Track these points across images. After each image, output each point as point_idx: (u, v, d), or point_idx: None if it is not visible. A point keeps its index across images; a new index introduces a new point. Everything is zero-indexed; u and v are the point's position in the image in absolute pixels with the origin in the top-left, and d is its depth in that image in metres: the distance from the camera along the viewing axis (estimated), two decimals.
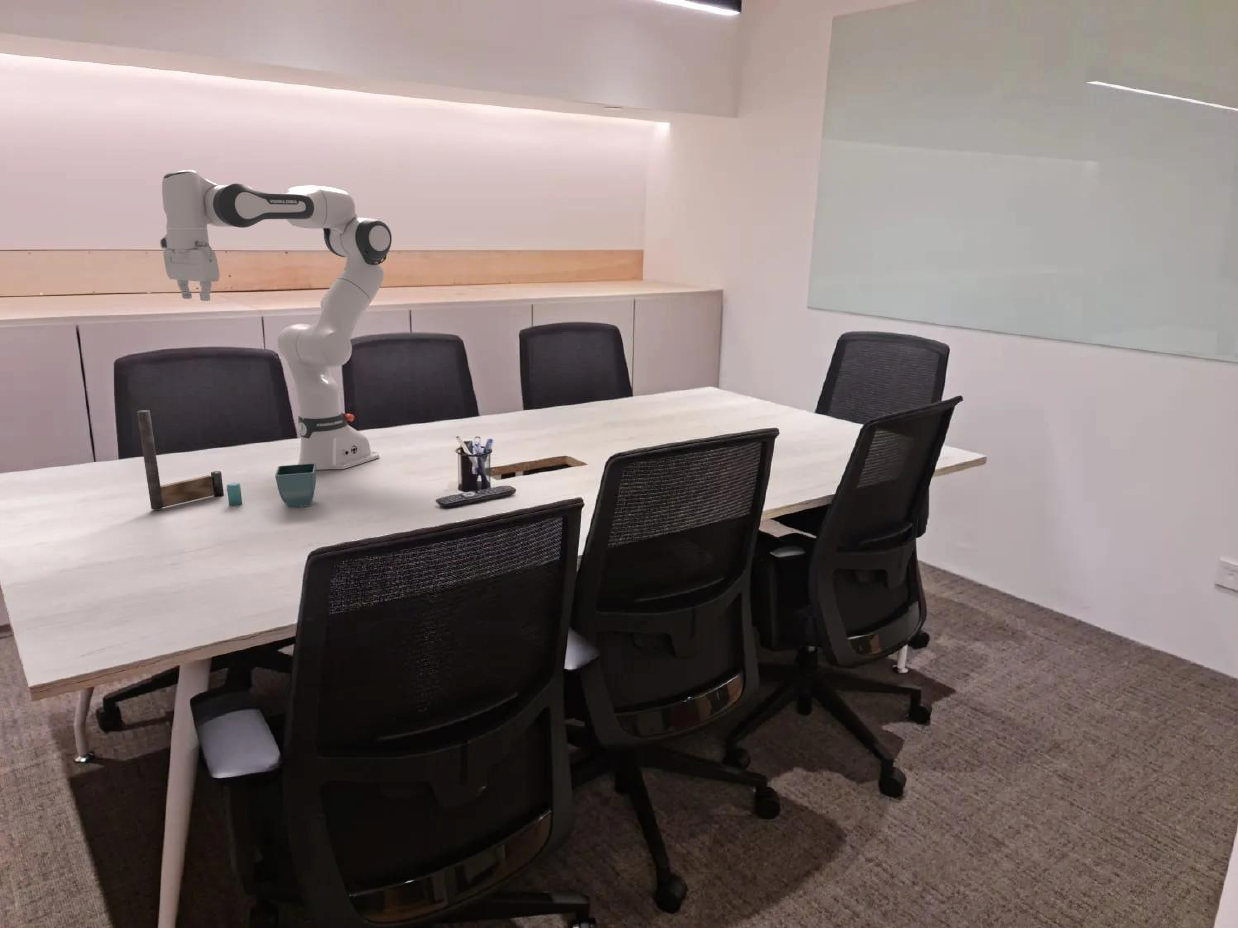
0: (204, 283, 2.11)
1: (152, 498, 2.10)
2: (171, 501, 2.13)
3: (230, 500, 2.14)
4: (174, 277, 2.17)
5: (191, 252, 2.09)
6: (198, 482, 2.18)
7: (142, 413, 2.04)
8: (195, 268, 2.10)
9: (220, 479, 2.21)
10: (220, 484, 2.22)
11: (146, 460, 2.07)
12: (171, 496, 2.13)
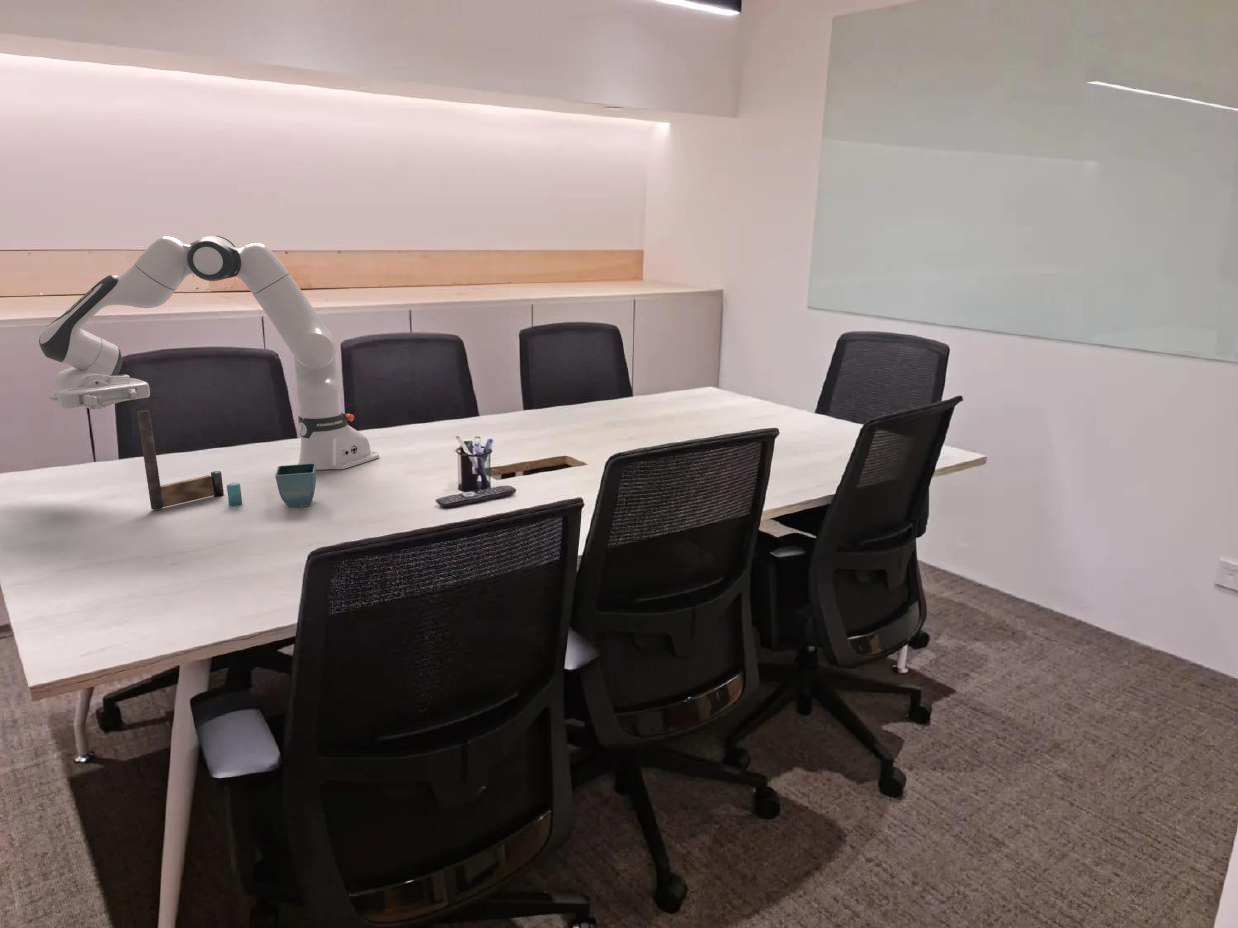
0: (83, 402, 2.12)
1: (152, 498, 2.10)
2: (171, 501, 2.13)
3: (230, 500, 2.14)
4: None
5: None
6: (198, 482, 2.18)
7: (142, 413, 2.04)
8: None
9: (220, 479, 2.21)
10: (220, 484, 2.22)
11: (146, 460, 2.07)
12: (171, 496, 2.13)
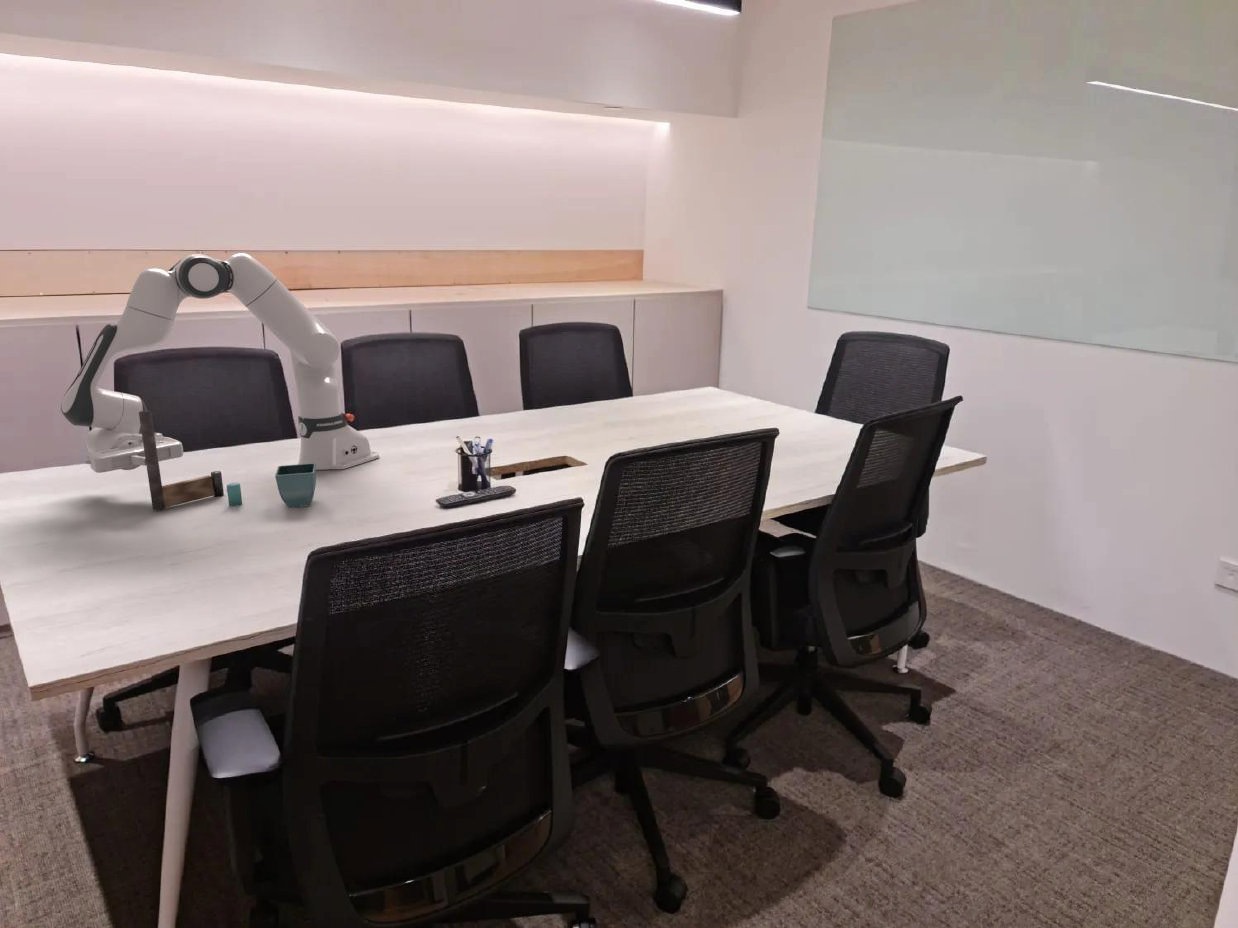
0: (132, 462, 2.10)
1: (154, 499, 2.09)
2: (172, 501, 2.13)
3: (230, 500, 2.14)
4: (167, 459, 2.17)
5: None
6: (199, 482, 2.18)
7: (144, 413, 2.04)
8: None
9: (220, 479, 2.21)
10: (220, 484, 2.22)
11: (148, 461, 2.07)
12: (172, 496, 2.13)
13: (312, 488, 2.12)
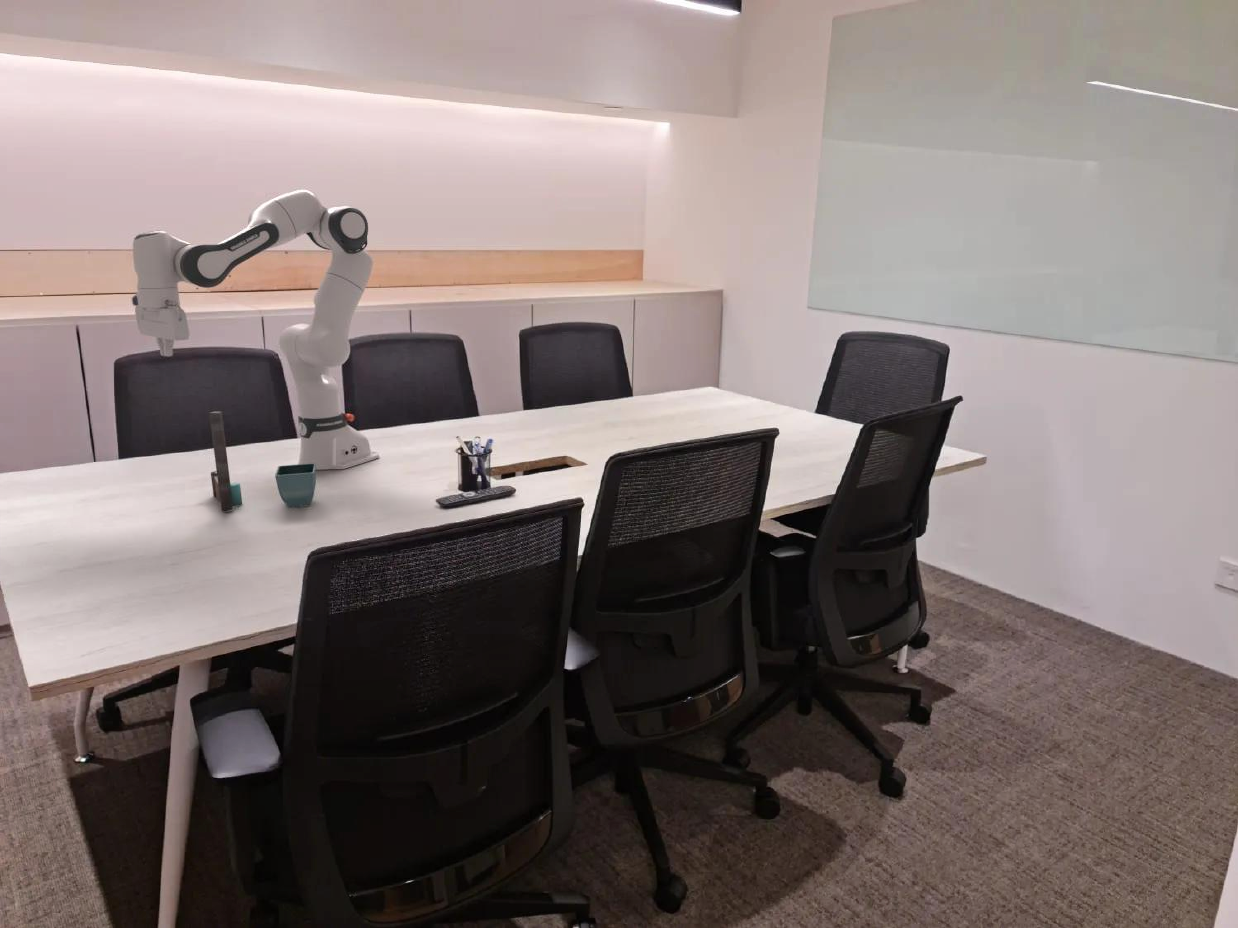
0: (167, 340, 2.18)
1: (230, 499, 2.09)
2: None
3: None
4: (145, 333, 2.22)
5: (161, 311, 2.14)
6: None
7: (221, 413, 2.04)
8: (165, 327, 2.14)
9: None
10: None
11: (225, 461, 2.07)
12: None
13: (312, 488, 2.12)
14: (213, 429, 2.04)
